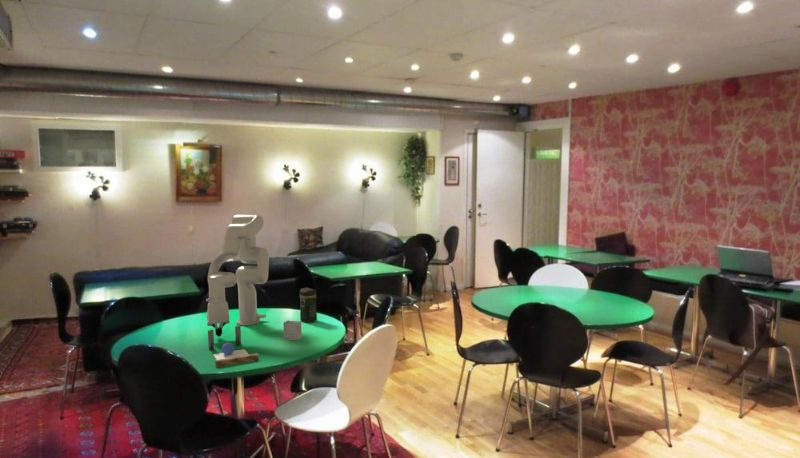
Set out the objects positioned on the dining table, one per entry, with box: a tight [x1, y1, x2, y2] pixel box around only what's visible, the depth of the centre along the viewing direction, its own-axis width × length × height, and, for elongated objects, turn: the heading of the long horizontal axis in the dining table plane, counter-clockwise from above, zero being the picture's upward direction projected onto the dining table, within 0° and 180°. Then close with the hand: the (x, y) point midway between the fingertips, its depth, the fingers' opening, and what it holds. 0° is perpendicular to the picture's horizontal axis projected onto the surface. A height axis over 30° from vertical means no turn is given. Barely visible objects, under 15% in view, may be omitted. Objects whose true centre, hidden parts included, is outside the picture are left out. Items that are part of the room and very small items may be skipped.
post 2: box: [234, 325, 242, 347], centre depth 263 cm, size 2×2×9 cm
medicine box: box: [282, 319, 303, 341], centre depth 272 cm, size 8×4×9 cm, turn 71°
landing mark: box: [213, 348, 250, 360], centre depth 246 cm, size 14×14×1 cm
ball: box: [221, 342, 235, 355], centre depth 249 cm, size 6×6×6 cm
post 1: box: [207, 329, 215, 351], centre depth 257 cm, size 2×2×9 cm
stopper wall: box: [214, 352, 260, 368], centre depth 238 cm, size 18×2×2 cm, turn 119°
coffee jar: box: [299, 287, 318, 324], centre depth 304 cm, size 10×8×19 cm
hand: (218, 335), depth 273 cm, fingers closed
